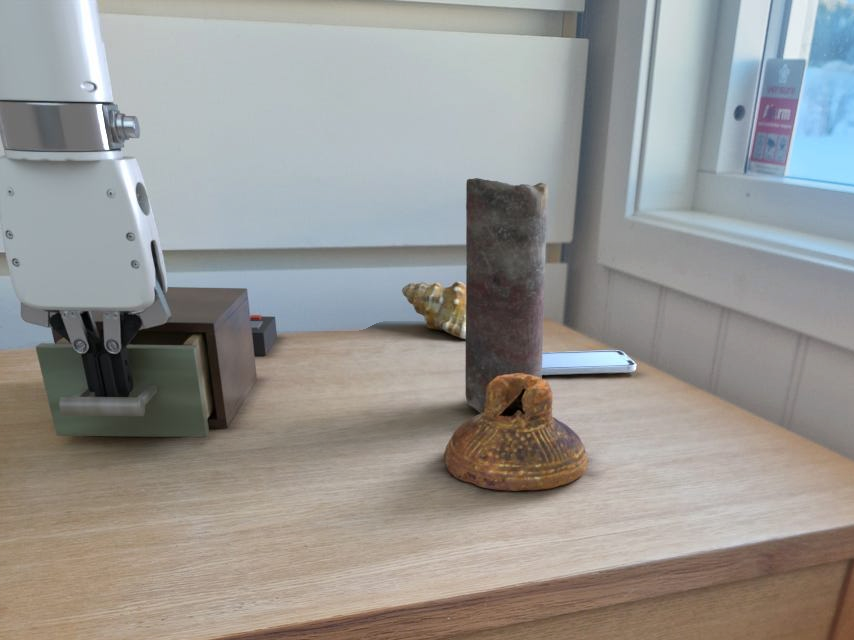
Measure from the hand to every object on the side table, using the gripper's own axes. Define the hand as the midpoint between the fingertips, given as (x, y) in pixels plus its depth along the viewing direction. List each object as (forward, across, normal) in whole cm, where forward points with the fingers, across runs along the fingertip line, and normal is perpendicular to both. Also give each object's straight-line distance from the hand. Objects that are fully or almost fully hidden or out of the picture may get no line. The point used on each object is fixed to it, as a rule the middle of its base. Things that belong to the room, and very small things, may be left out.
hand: (113, 400), depth 69 cm
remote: (+5, -4, -38) cm, 38 cm away
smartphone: (+5, -40, -30) cm, 50 cm away
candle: (+5, -32, -15) cm, 35 cm away
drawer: (+4, 0, -7) cm, 8 cm away
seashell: (+5, -27, -47) cm, 54 cm away
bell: (+5, -32, +1) cm, 32 cm away
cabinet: (+5, 0, -16) cm, 16 cm away
